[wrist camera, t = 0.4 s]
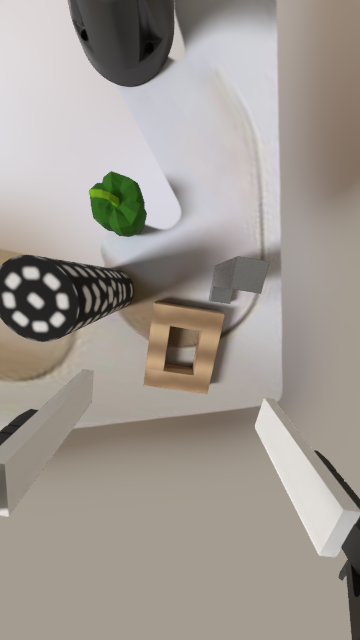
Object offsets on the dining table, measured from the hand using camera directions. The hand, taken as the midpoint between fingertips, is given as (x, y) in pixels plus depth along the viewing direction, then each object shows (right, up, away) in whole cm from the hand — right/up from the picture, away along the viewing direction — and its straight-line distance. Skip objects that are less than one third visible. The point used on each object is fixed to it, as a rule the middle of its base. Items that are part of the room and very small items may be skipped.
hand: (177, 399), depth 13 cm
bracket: (+9, +13, +23) cm, 28 cm away
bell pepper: (-9, +26, +20) cm, 34 cm away
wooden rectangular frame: (+1, 0, +26) cm, 26 cm away
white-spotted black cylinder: (-14, +12, +23) cm, 30 cm away
